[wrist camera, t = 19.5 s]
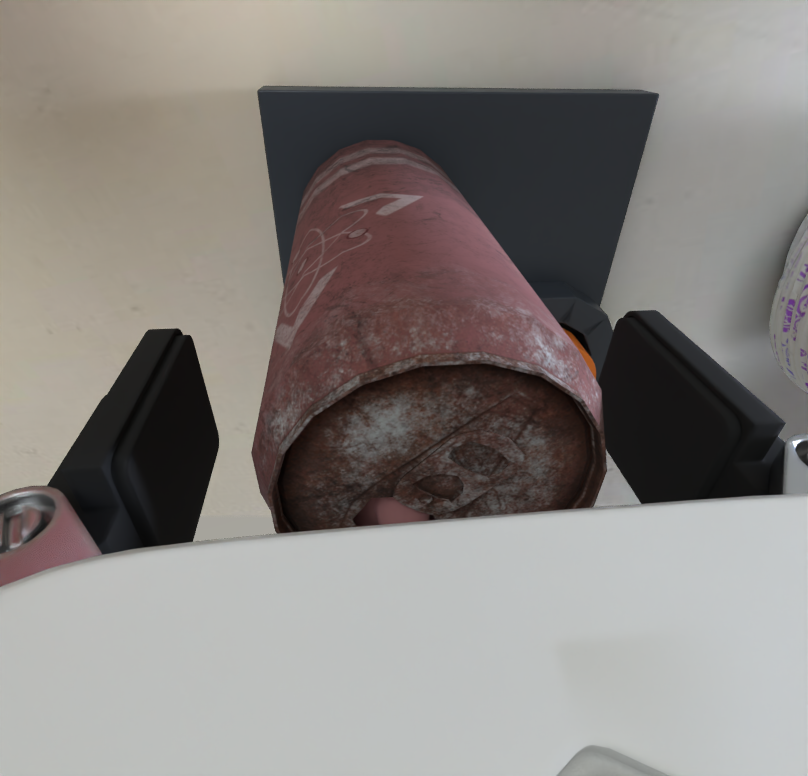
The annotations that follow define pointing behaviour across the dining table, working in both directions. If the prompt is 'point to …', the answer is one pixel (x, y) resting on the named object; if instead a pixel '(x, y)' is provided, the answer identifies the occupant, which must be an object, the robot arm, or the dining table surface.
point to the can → (416, 363)
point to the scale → (489, 171)
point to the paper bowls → (793, 312)
